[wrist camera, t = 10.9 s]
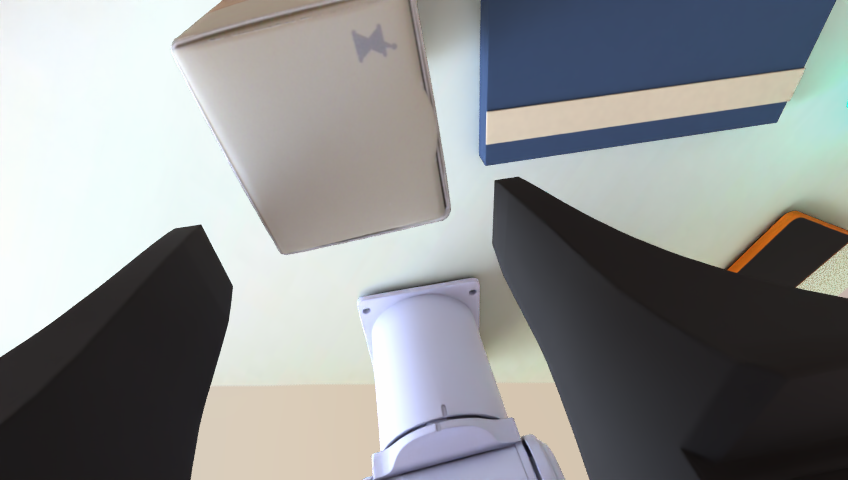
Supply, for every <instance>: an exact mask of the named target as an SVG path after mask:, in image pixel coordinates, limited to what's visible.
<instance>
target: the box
mask: <svg viewBox="0 0 848 480" xmlns="http://www.w3.org/2000/svg"><path fill="white" fill-rule="evenodd" d="M170 49H171V52H172V55H173V57H174V59H175V62H176V64H177V66H178V67H179V69H180V71H181V73H182V75H183V77H184V79H185V81H186V83H187V85H188V87H189V89H190V91H191V93H192V95H193V96H194V98H195V100H196V102H197V104H198V106H199V108H200V110H201V112H202V114H203V116H204V118H205V120H206V122H207V123H208V125H209V127H210V129H211V131H212V133H213V135H214V137H215V139H216V140H217V142H218V144H219V146H220V148H221V150H222V152H223V153H224V155H225V157H226V159H227V161H228V163H229V164H230V166H231V168H232V170H233V172H234V173H235V175H236V177H237V178H238V180H239V182H240V184H241V186H242V188H243V190H244V191H245V193H246V195H247V196H248V198H249V200H250V202H251V203H252V205H253V207H254V209H255V210H256V212H257V214H258V216H259V217H260V219H261V221H262V223H263V225H264V226H265V228H266V230H267V231H268V233H269V235H270V236H271V238H272V240H273V241H274V243H275V245H276V247H277V249H278V250H279V252H280V253H281V254H284V255H288V254H294V253H299V252H305V251H309V250H314V249H318V248H323V247H327V246H331V245H337V244H342V243H347V242H351V241H355V240H360V239H365V238H368V237H372V236H377V235H382V234H386V233H390V232H395V231H400V230H404V229H408V228H412V227H416V226H420V225H424V224H429V223H433V222H438V221H443V220H444V219H446V218H447V217H448V216H449V214H450V211H451V206H450V197H449V190H448V183H447V175H446V168H445V162H444V156H443V150H442V144H441V138H440V132H439V126H438V120H437V114H436V107H435V101H434V96H433V90H432V85H431V79H430V74H429V68H428V63H427V57H426V52H425V46H424V41H423V35H422V30H421V24H420V19H419V13H418V8H417V0H222V1H221V2H220V3H219V4H218V5H216V6H215V7H214V8H213V9H211V10H210V11H209V12H208V13H206V14H205V15H204V16H203V17H201V18H200V19H199V20H198V21H197V22H195V23H194V24H193V25H192V26H191V27H190V28H188V29H187V30H186V31H185V32H183V33H182V34H181V35H180V36H179V37H177V38H176V39H174V41H173V42H172V45H171V47H170Z"/></svg>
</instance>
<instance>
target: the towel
mask: <svg viewBox="0 0 848 480" xmlns="http://www.w3.org/2000/svg"><path fill="white" fill-rule="evenodd" d="M835 2H836V0H481V20H480V120H479V156H480V158H481V159H482V161H483V163H484V164H485V166H488V165H494V164H501V163H508V162H515V161H521V160H528V159H535V158H542V157H548V156H555V155H562V154H568V153H575V152H582V151H589V150H595V149H602V148H609V147H615V146H622V145H629V144H636V143H642V142H649V141H656V140H663V139H669V138H676V137H683V136H689V135H696V134H703V133H710V132H716V131H723V130H730V129H737V128H743V127H750V126H757V125H763V124H770V123H776V122H777V121H778V119H779V117H780V115H781V113H782V111H783V109H784V107H785V105H786V103H787V101H790V100H791V98H792V95H793V93H794V91H795V89H796V87H797V85H798V83H799V81H800V79H801V77H802V75H803V73H804V71H805V69H806V68H804V66H805V64H806V62H807V59H808V57H809V55H810V53H811V51H812V49H813V47H814V45H815V43H816V41H817V39H818V37H819V35H820V33H821V31H822V29H823V27H824V24H825V22H826V20H827V18H828V16H829V14H830V12H831V10H832V8H833V6H834V4H835Z"/></svg>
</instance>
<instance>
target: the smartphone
mask: <svg viewBox="0 0 848 480" xmlns="http://www.w3.org/2000/svg"><path fill="white" fill-rule="evenodd" d="M846 244H848V230H845V229H843V228H840V227H838V226H835V225H832V224H830V223H826V222H824V221H822V220H820V219H817V218H814V217H812V216H809V215H807V214H804V213H801V212H799V211H791V212H788V213H786V214H785V215H784V216H782V217H781V218H780V219H779V220H778V221H777V222H776V223H775V224H774V225H773V226H772V227H771V228H770V229H769V230H768V231H767V232H766V233H765V234H764V235H762V236H761V237H760V238H759V239H758V240H757V241H756V242H755V243H754V244H753V245H752V246H751V247H750V248H749V249H748V250H747V251H746V252H745V253H744V254H743V255H742V256H741V257H740V258H739V259H738V260H737V261H736V262H735V263H734V264H733V265H732V266H731V267H730V268H729V269H728V271H731V272H735V273H739V274H742V275H746V276H749V277H753V278H757V279H761V280H765V281H769V282H773V283H777V284H782V285H786V286H790V287H794V288H796V287H797V286H798V285H799V284H800V283H802V282H803V281H804V280H805V279H806V278H807V277H809V276H810V275H811V274H812V273H813V272H815V271H816V270H817V269H818V268H819V267H820V266H822V265H823V264H824V263H825V262H826V261H828V260H829V259H830V258H831V257H832V256H833V255H835V254H836V253H837V252H838V251H839V250H841V249H842V248H843V247H844V246H845V245H846Z"/></svg>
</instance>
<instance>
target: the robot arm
mask: <svg viewBox="0 0 848 480" xmlns="http://www.w3.org/2000/svg"><path fill="white" fill-rule="evenodd" d="M492 244H493V247H494V250H495V253H496V256H497V259H498V262H499V265H500V268H501V270H502V273H503V276H504V278H505V280H506V282H507V284H508V286H509V288H510V290H511V292H512V294H513V296H514V298H515V299H516V301H517V303H518V305H519V307H520V309H521V311H522V313H523V315H524V317H525V319H526V321H527V323H528V325H529V326H530V328H531V330H532V332H533V334H534V336H535V338H536V340H537V342H538V344H539V346H540V348H541V350H542V352H543V355H544V357H545V359H546V361H547V364H548V366H549V369H550V372H551V374H552V377H553V379H554V382H555V384H556V387H557V389H558V392H559V394H560V397H561V400H562V403H563V406H564V408H565V411H566V414H567V416H568V419H569V422H570V425H571V427H572V430H573V433H574V435H575V439H576V441H577V444H578V447H579V450H580V453H581V456H582V459H583V462H584V465H585V468H586V471H587V474H588V476H589V479H590V480H848V298H843V297H838V296H833V295H828V294H823V293H818V292H813V291H808V290H803V289H798V288H794V287H790V286H786V285H782V284H777V283H773V282H769V281H765V280H761V279H757V278H753V277H749V276H746V275H742V274H739V273H735V272H731V271H728V270H724V269H721V268H718V267H715V266H711V265H708V264H705V263H702V262H699V261H696V260H693V259H689V258H686V257H683V256H681V255H678V254H675V253H672V252H669V251H667V250H664V249H661V248H659V247H656V246H654V245H651V244H649V243H646V242H644V241H641V240H639V239H636V238H634V237H632V236H629V235H627V234H625V233H623V232H620V231H618V230H616V229H614V228H612V227H610V226H608V225H606V224H604V223H602V222H600V221H598V220H596V219H594V218H592V217H590V216H588V215H586V214H584V213H582V212H580V211H579V210H577V209H575V208H573V207H571V206H570V205H568V204H566V203H564V202H562V201H561V200H559V199H557V198H555V197H554V196H552V195H550V194H549V193H547V192H545V191H543V190H542V189H540V188H538V187H536V186H535V185H533V184H531V183H529V182H528V181H526V180H524V179H522V178H520V177H514V178H507V179H500V180H495V185H494V212H493V238H492ZM232 290H233V286H232V284H231V282H230V280H229V278H228V276H227V274H226V272H225V270H224V268H223V266H222V264H221V262H220V260H219V258H218V256H217V254H216V253H215V251H214V249H213V247H212V245H211V243H210V241H209V239H208V237H207V235H206V233H205V231H204V229H203V227H202V225H195V226H189V227H182V228H176V229H173V230H172V231H170V232H169V233H167V234H166V235H164V236H163V237H162V238H160V239H159V240H158V241H156V242H155V243H154V244H152V245H151V246H150V247H149V248H147V249H146V250H145V251H143V252H142V253H141V254H140V255H138V256H137V257H136V258H135V259H134V260H132V261H131V262H130V263H129V264H127V265H126V266H125V267H124V268H122V269H121V270H120V271H119V272H117V273H116V274H115V275H114V276H112V277H111V278H110V279H109V280H107V281H106V282H105V283H104V284H102V285H101V286H100V287H99V288H97V289H96V290H95V291H93V292H92V293H91V294H89V295H88V296H87V297H85V298H84V299H83V300H81V301H80V302H79V303H77V304H76V305H75V306H73V307H72V308H71V309H69V310H68V311H67V312H65V313H64V314H63V315H61V316H60V317H59V318H57V319H56V320H55V321H53V322H52V323H51V324H49V325H48V326H46V327H45V328H44V329H42V330H41V331H39V332H38V333H36V334H35V335H33V336H32V337H30V338H29V339H28V340H26V341H25V342H23V343H22V344H20V345H18V346H17V347H15V348H14V349H12V350H11V351H9V352H8V353H6V354H5V355H3V356H2V357H0V480H190V479H191V472H192V466H193V461H194V455H195V449H196V443H197V437H198V432H199V426H200V422H201V418H202V414H203V409H204V406H205V402H206V399H207V395H208V392H209V389H210V385H211V382H212V378H213V375H214V371H215V368H216V365H217V361H218V358H219V354H220V351H221V347H222V344H223V340H224V337H225V333H226V329H227V326H228V322H229V315H230V308H231V299H232ZM470 290H473V291H470ZM357 307H358V311H359V314H360V318H361V322H362V326H363V330H364V333H365V337H366V341H367V345H368V349H369V353H370V356H371V360H372V364H373V368H374V372H375V384H376V397H377V410H378V423H379V436H380V449H381V451H380V452H377V453H374V454H373V455H372V470H373V476H371V477H366V478H364V479H362V480H565V478H564V476H563V473H562V471H561V469H560V467H559V464H558V462H557V460H556V458H555V456H554V455H553V453H552V451H551V450H550V448H549V447H548V446H547V445H546V444H545V443H543V442H542V441H540V440H538V439H537V438H536V437H535V436H534V435H532V434H529V435H526V436H522V437H521V438H520V435H519V432H518V429H517V427H516V424H515V421H514V418H512V417H511V418H508V416H507V413H506V410H505V407H504V404H503V402H502V399H501V396H500V393H499V390H498V387H497V384H496V381H495V378H494V375H493V372H492V369H491V366H490V364H489V361H488V358H487V355H486V352H485V349H484V346H483V343H482V340H481V337H480V334H479V314H480V284H479V281H478V279H476V278H467V279H462V280H456V281H450V282H444V283H438V284H432V285H427V286H421V287H415V288H409V289H403V290H397V291H391V292H386V293H380V294H374V295H368V296H363V297H360V298H359V299H358V301H357ZM365 308H369V309H365Z"/></svg>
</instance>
